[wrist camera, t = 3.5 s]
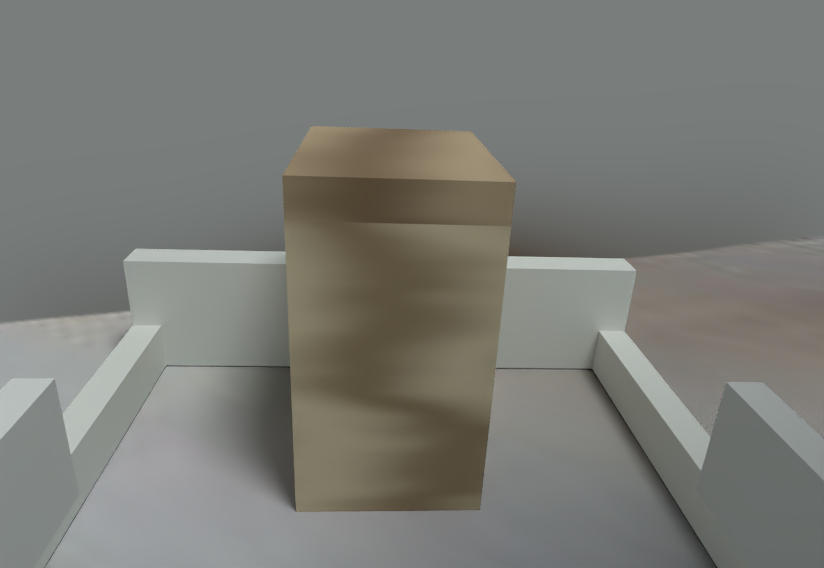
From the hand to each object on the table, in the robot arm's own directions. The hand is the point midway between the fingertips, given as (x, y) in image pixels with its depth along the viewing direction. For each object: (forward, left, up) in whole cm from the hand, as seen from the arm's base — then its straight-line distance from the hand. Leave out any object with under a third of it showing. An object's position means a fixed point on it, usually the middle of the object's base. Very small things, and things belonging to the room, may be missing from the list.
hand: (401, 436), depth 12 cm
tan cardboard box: (0, -9, -7) cm, 12 cm away
